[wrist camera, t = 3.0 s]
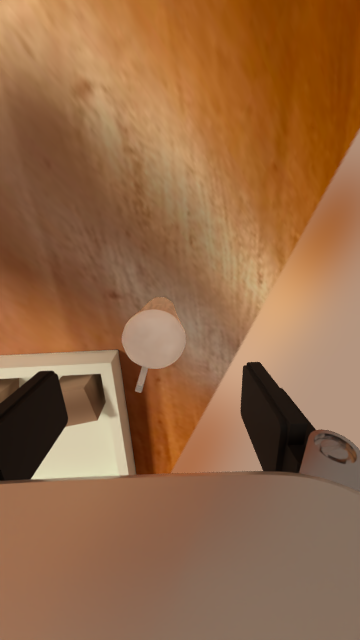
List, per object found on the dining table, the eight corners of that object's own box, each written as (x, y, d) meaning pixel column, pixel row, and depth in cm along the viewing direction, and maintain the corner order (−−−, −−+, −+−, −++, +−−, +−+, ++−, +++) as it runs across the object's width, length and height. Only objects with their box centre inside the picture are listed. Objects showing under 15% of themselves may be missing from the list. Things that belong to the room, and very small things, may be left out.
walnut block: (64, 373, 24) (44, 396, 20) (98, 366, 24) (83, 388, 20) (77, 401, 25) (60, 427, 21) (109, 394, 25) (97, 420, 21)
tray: (-42, 357, 23) (-71, 371, 20) (118, 349, 24) (110, 362, 21) (10, 482, 29) (-7, 507, 27) (136, 474, 30) (132, 498, 27)
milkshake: (132, 329, 23) (104, 382, 13) (146, 284, 22) (125, 308, 12) (170, 341, 24) (169, 401, 14) (187, 298, 22) (198, 332, 13)
